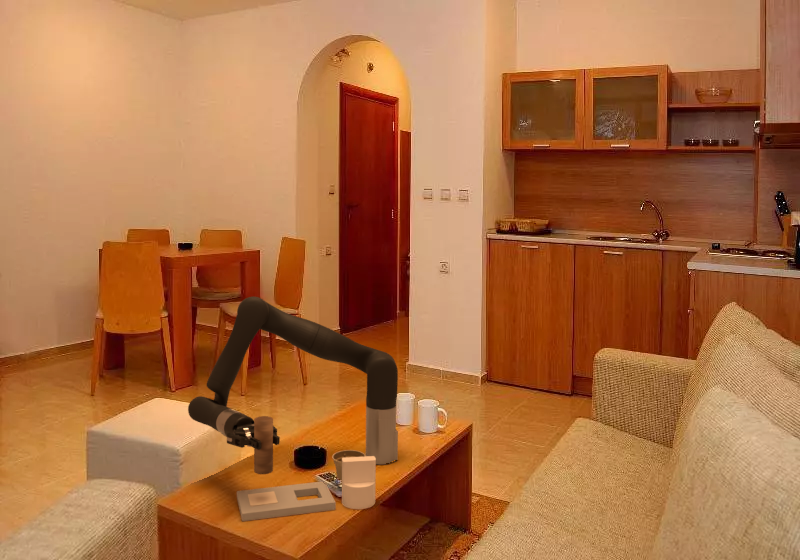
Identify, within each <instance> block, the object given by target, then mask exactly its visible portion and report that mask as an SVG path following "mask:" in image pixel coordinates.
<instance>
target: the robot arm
mask: <svg viewBox="0 0 800 560" xmlns="http://www.w3.org/2000/svg"><path fill="white" fill-rule="evenodd" d="M260 330H262V331H265V332H266V333H267V332H268V333H270V334H273V335H275V336H278V337H280V338H281V339H282V340H284V341H286V342H288V343H289V344H290V345H292V346H294V347H296V348H297V349H299V350H301V351H303V352H306V353H308V354H309V355H313V356H315V357H317V358H320V359H322V360H326V361H329V362H336V363H342V364H345V365H347V366H351V367H354V368H355V369H357V370H359V371H361V372H363V373H364V374H366V396H365V397H366V398H365V455H366V456H374V457H375V458H376V465H387V464H386V463H389V464H391V463H390V462H392V461H394V460H399V459H398V455H399V454H398V452H399V451H398V449H399V443H398V442H399V431H398V430H397V401H398V400H397V399H398V381H399V377H398V376H399V375H398V374H399V373H398V367H397V363H396V361H395V359H394V357H393V356H392V355H390V354H389V353H387V352H385V351H382V350H381V349H380V350H379V349H376V348H373V347H370V346H367V345H364V344H361V343H359V342H356V341H354V340H353V339H351V338H349V337H347V336H345V335H344V334H341V333H340V332H337V331H336V330H333V329H331V328H329V327H327V326H324V325H322V324H319V323H317V322H315V321H312V320H309V319H307V318H303V317H300V316H296V315H293V314H290V313H288V312H285V311H284V310H281V309H280V308H277V306H276V307H275V306H274V305H272V304H270V303H268V302H267V301H266V300H264V299H263V298H261V297H259V296H248V297H246V298H244V299H243V300H242V301H241V302H240V303H239V304H238V306H237V311H236V317H235V320H234V324H233V327H232V330H231V333H230V335H229V337H228V339H227V341H226V344H225V346H224V347H223V349H222V351H221V353H220V355H219V356H218V358H217V360H216V362H215V363H214V367H213V369H212V370H211V372H210V375H209V377H208V378H207V381H206V387H207V389H208V390H210V391H211V392H213V393H214V398H213V399H212V398H209V397H205V396H202V395H200V396H196V397H194V398H192V400H190V402H189V403H188V406H187V412H188V415H189V417H190V418H191V419H192V420H193V421H195V422H197V423H200V424H203V425H206V426H209V427H211V428H212V429H214V430H215V431H217V432H218V433H220V434H221V435H223V436H224V437H225V438H226V444H228V445H232V446H234V447H235V446H236V447H237V448H241V449H243V448H245V446H247V447H248V448H249V447H250V448H253V449H254V448H255V449H257V450H260V449H261V441H259V440H257V439H255V438H254V419H253V418H252V417H251V416H249V415H247V414H245V413H242V412H240V411H238V410H235V409H232V408H231V407H228V401H229V397H230V391H231V389H232V386H233V384H234V382H235V380H236V378H237V377H238V376H237V375H238V373H239V371H240V369H241V366H242V364H243V362H244V359H245V356H246V354H247V351H248V349H249V348H250V345H251V343H252V342H253V340H254V338H255V337H256V335H257V334H258V332H259V331H260ZM280 439H281V437H280V436H279V435H278V428H276V427H275V426H274V425H273V445H275V446H278V445H280V442H281V441H280ZM394 462H395V461H394ZM392 463H393V462H392Z"/></svg>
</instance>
